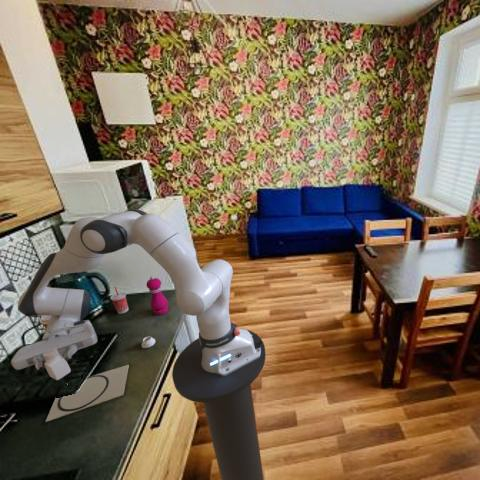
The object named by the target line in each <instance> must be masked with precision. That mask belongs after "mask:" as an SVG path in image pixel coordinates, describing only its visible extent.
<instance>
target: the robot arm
mask: <svg viewBox="0 0 480 480" xmlns="http://www.w3.org/2000/svg"><path fill="white" fill-rule="evenodd" d="M72 225H73V226H72V227H71V229H70V231H69V233H68V235H67V237H66V240H65V243H64V246H63V247H62V248H61V249H60V250H58V251H56V252H51V253H49V255H47V257H45V259H44V260H43V262H42V264H41V265H40V266H39V268H38V270H37V272H36V273H35V274H34V276H33V278H32V280H31V282H30V283H29V285H28V287H27V288H26V289H25V290H24V292H22V294H21V295H20V297H19V299H18V301H17V310H18V312H20V313H21V314H23V316H26V317H38V316H39V317H40V316H44V315H48V316H51V317H50V319H49V322H48V324H47V328H46V329H45V330H44V333H43V336H42V339H41V340H40V341H36V342H33V343H30V344H27V345H23V346H22V347H21V348H19V349H18V350H17V351H16V353H15V354H14V355H13V357H12V359H11V360H10V364H11V366H12V367H13V369H15V370H16V371H19V370H23V369H25V368H28V367H31V366H35V370H36V371H39V370H41V369H44V368H45V366H44V363H45V362H46V360H45V358H44V356H43V354H44V352H46V351H47V350H50V349H53V348H56V349H57V351H58V353H59V355H61V356H63V357H64V358H65V360H66V361H68V360H71V359H72V358H73V356H74V354H76V353H77V352H78V351H79V350H81V349H85V348H88V347H90V346H93V345H95V344H97V342H98V336H97V333H96V330H95V327H94V326H93V324H92V322H91V321H90V320H89V319H85V318H86V317H87V316H88V314H89V310H90V306H91V300H92V297H91V295H90V293H89V292H88V291H87V290H86V289H78V288H77V289H76V288H61V287H51V286H48V285H49V284H50V282H51V280H52V279H53V278H55V277H56V276H60V275H66V274H67V275H68V274H75V273H84V272H85V273H86V272H89V271H92V270H95V269H96V268H97V267H99V266H100V265H102V264H103V262H104V260H105V258H106V256H107V254H112V253H115V252H118V251H120V250H122V249H125V248H127V247H129V246H131V245H138V246H140V247H141V248H142V249H143V250H144V251H145V252H146V253H147V254H149V256H150V257H151V258H152V259H154V261H155V262H156V263H158V264H159V265H160V266H161V267H162V269H163V270H164V271H165V272H166V273H167V275H168V276H169V277H170V279H171V281H172V283H173V286H174V288H175V303H176V306H177V308H178V309H179V311H180V312H181V313H183V314H185V315H188V316H192V317H196V318H195V319H196V323H197V327H198V338H199V341H200V345H201V347H202V361H201V365H202V367H203V369H204V370H206V371H208V372H211V373H217V374H219V375H221V376H226V375H227V374H229V373H231V372H233V371H235V370H237V369H239V368H241V367H242V366H244V365H246V364H248V363H250V362H252V361H254V360H255V359H257V358H259V357H260V354H261V348H260V344H261V343H262V341H263V340H262V341H261V340H260V339H259V338H258V336H259V335H258V334H257V333H255V335H251V334H250V333H249V332H248V331H247V330H248V329H246V328H242V329H240V328H241V327H238V326H237V323H235V322H236V321H235V320H232V322H231V318H230V317H231V316H230V294H231V284H232V279H233V275H234V269H233V267H232V265H231V264H230V263H229V262H228V261H226V260H224V259H220V258H219V259H214V260H212V261H209V262H208V263H206V264H205V265H203V266H202V268H201V266H200V265H199V263H198V260H197V250H196V249H195V247H194V246H193V245H192V244H191V243H190V242H189V241H188V240H187V239H186V238H185V237H184V236H183V235H182V234H181V233H180V232H179V231H178V230H177V229H175V228H174V227H173V225H171V224H170V223H169V222H167V220H165V219H163V218H162V217H160V216H159V215H158V214H155V213H147V212H145V211H144V210H143V209H136V208H135V209H127V210H124V211H120V212H116V213H111V214H108V215H107V214H106V215H105V216H103V217H101V218H99V217H95V216H94V217H93V216H86V217H82V218H79V219H78V220H76V222H74V224H72ZM84 319H85V320H84ZM257 335H258V336H257Z"/></svg>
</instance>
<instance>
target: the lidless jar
mask: <svg viewBox="0 0 480 480" xmlns="http://www.w3.org/2000/svg"><path fill="white" fill-rule="evenodd" d="M155 344H156V339H155V338H153V337H152V336H145V337H144V338H143V339H142V342H141V348H142V349H149V348H150V347H153V346H154V345H155Z"/></svg>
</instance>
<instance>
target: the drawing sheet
mask: <svg viewBox="0 0 480 480" xmlns="http://www.w3.org/2000/svg"><path fill="white" fill-rule="evenodd" d="M129 367H130V364H126V365H123V366H119V367H116V368H113V369H110V370H106V371H103V372H100V373H97V374H93V375H91V376H87V377H88V378H87V377H86V378H87V380H86V382H85V383H84V384H83V386H82V388H81V389H80V391H78V392H77V393H75V394H72V395H68V396H63V397H60V398H56V397H55V399H54V401H53V403H52V406H51V408H50V410H49V411H48V412H49V413H48V414H47V417H46V419H45V423H47V422H51V421H53V420H56V419H59V418H62V417H65V416H68V415H71V414H74V413H77V412H79V411H82V410H85V409H87V408H90V407H93V406H96V405H99V404H102V403H105V402H108V401H110V400H114V399H116V398H119V397H122V396H124V395H125V389H126V385H127V378H128V373H129ZM66 384H67V385H68V383H66Z"/></svg>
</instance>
